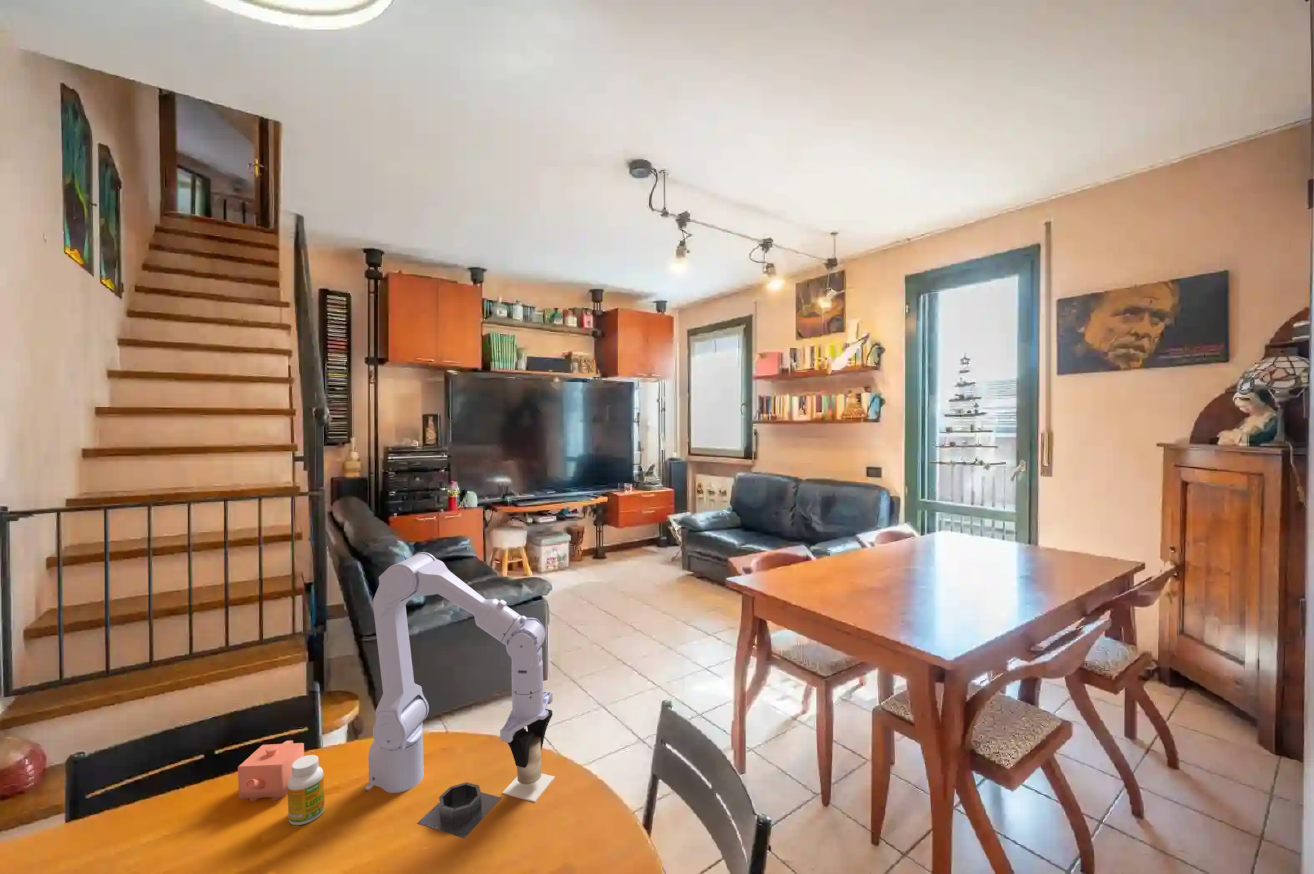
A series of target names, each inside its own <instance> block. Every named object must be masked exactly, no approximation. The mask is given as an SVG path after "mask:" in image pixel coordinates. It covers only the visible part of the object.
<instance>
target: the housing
mask: <svg viewBox="0 0 1314 874" xmlns="http://www.w3.org/2000/svg"><path fill="white" fill-rule="evenodd" d="M438 798H439V799H438V801H439V802H437V804H436V805H435V806H434V807H432V808H431V809H430V810H429V811H428V812H427V813H426V814H425V815H423V817H422V818H421V819H419V820H418V822H417V823H416V824H417V825H421V826H424V827H426V828H427V827H428V828H430V829H434V830H436V831H439V832H442V833H443V832H444V833H446V834H450V835H453V836H456V837H459V838H462V839H465V838H466V837H467V836H468V835H469V834H470V833H471V832H472V831H473V829H474V828H476V827H477V825H478V824H480V822H481V821H482V820H483V819H484V818H485V817H486V815H487V814H488V813H489V812H490V811H492V809H493V808H494V807H495V806H496V805H497V803H498V802H499V801H500V800H501V799H502V797H500V796H497V795H493V794H490V793H486V792H481V788H480V785H478V784H475V783H471V782H468V781H466V782H462V783H460V784H456V785H452V786H450V787H448V788H447V789H446V790H445V791H444V792H443V793H442V794H441V795H440V796H438Z"/></svg>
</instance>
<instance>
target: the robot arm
mask: <svg viewBox="0 0 1314 874" xmlns="http://www.w3.org/2000/svg"><path fill="white" fill-rule="evenodd" d="M378 583H379V584H378V586H377V587H378V588H377V589H376V592H375V594H374V597H373V600H372V609H373V614H374V615H373V617H374V624H375V634H376V643H377V650H378V651H377V652H378V659H379V660H378V661H379V667H380V669H379V670H380V677H381V687H382V695H381V698H380V700H379V702H378V705H377V707H376V709H375V712H374V714H375V722H374V725H373V728H372V738H373V741H372V743H371V744H370V746H369V747H370V748H369V751H368V755H367V756H368V757H367V758H368V761H367V762H368V763H367V764H368V784H367V785H366V786H365V788H364V790H365V791H367V792H369V790H371V789H372V788H374V786H376V787H379V788H380V789H382V790H384V791H385V792H387V793H390V794H398V793H402V792H407V791H408V790H411V789H413V788H416V786H418V785H419V784H420V783H421V782H422V780H423V778H424V774H425V773H424V771H425V770H424V769H425V768H424V735H423V733H424V732H423V728H424V723H423V722H424V721H425V719H426V718H427V717H428V716H429V715H428V714H429V711H430V706H429V702H428V700H427V699H426V697H425V695H424V693H423V688H422V686H421V685H419V684H417V683H415V678H414V677H415V676H414V667H413V661H412V651H411V642H410V633H409V626H408V614H407V606H406V605H407V604H408V602H409V601H410V600H411V599H412V598H413V597H414V595H416V597H425V596H431V595H438V596H441V597H443V598H445V599H446V600H447V601H449V602H451V603H453V604H454V605H456V606H457V607H459V608H460V609H461V608H462V609H463V610H464V611H466V612H467V613H470V615H473V616H474V623H475V625H476V626H477V627H478V628H480V629H481V630H483V631H484V632H485V633H487V634H488V635H490V636H491V637H493V638H494V639H496V640H497V641H499V642H500V643H501V644H503V645H504V646H505V649H506V653H507V655H508V656H509V657H510V659H511V705H512V706H511V708H512V709H511V711H510V714H508V715H509V716H508V717H507V719H506V722H505V724H504V725H503V727H502V728H501V729H500V731H499V735H500V737H499V739H500V741H501V742H504V743H507V745H508V747H509V749H510V751H511V753H512V756H513V760H514V764H515V766H516V767H517V766H519V767H523V768H525V767H526V766H527V764H528V758H529V747H530V742H531V739H532V736H533V734H537V735H539V736H540V738H541V750H542V749H543V745H544V740H545V735H546V731H547V730H548V729H547V728H548V725H549V723H550V721H551V719H552V717H553V710H552V709H548V705H551V704H552V703H553V699H554V698H553V692H552V691H546V690H544V671H543V670H544V667H543V666H544V663H543V647H542V645H543V644H544V642H545V639H546V636H547V635H546V634H547V633H546V632H547V631H546V628H545V626H544V624H543V623H542V622H541V621H540V620H539V619H538V618H535V617H527V616H525V615H524V614H523V615H522V614H521V615H520V614H519V613H518V612H517V611H515V610H514V609H512V608H510V607H509V606H508V605H507V603H508V602H507V601H505V600H504V599H500V600H499V599H498V598H497V597H496V598H495V597H494V598H488V599H487V598H485V597H483V595H481V594H479V593H478V592H477V591H476V590H474V589H473V588H472V587H471V586H469V585H468V584H467V583H466V582H464V581H463V580H462V579H460V578H459V577H458V576H456V575H455V574H454V573H453V572H451V570H449V569H448V567H447V566H446V564H445V562H443V561H442V560H440V559H437V558H436V557H435V556H434V555H432V554H431V553H429V552H426V551H423V552H417V553H415V554H413V556H410V557H409V558H406V559H404V560H402V561H400V562H397V563H395V564H392V565H390V566H389V567H388V568H387V569H385V570H384V572H382V573H381V575H379V576H378Z"/></svg>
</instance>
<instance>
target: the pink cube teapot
mask: <svg viewBox="0 0 1314 874" xmlns="http://www.w3.org/2000/svg"><path fill="white" fill-rule="evenodd" d="M304 756H305V743H303V742H296V743H294V740H285V741H284V742H282V743H273V744H271V743H270V744H262V745H261V746H259V747H258V748H257V749H256V750H255V751H253V753H251V754H250V756H248V758H246V759H245V760H244V761H243V762H242V763H240V764H239V765H238V766H237V782H238V799H239V800H242V799H243V800H244V799H249V801H250V802H256V801H257V800H259V799H261V798H271V800H272V801H276V800H280V799H282V798H283V797H285V795H286V794H288V780H289V778H290V776H291V775H292V764H293V763H294V762H295V761H296V760H297V759H299V758H301V757H304Z"/></svg>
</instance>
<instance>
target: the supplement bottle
mask: <svg viewBox="0 0 1314 874" xmlns="http://www.w3.org/2000/svg"><path fill="white" fill-rule="evenodd" d="M324 779H325V775H324V770H323V768H322V767H321V766H320V765H319V756H318V755H315V754H308V755H304V757H301V758H299V759H297V760H296V761H295V762H294V763H293V764H292V775H291V776H290V778H289V780H288V792H287V805H288V806H287V807H288V808H287V810H288V813H287V814H288V822H289V824H291V825H293V826H301V825H306V824H309V823H311V822H313V821H315V820H317V818H319V817H320V816H321V815H322V814H323V812H324V810H325V780H324Z"/></svg>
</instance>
